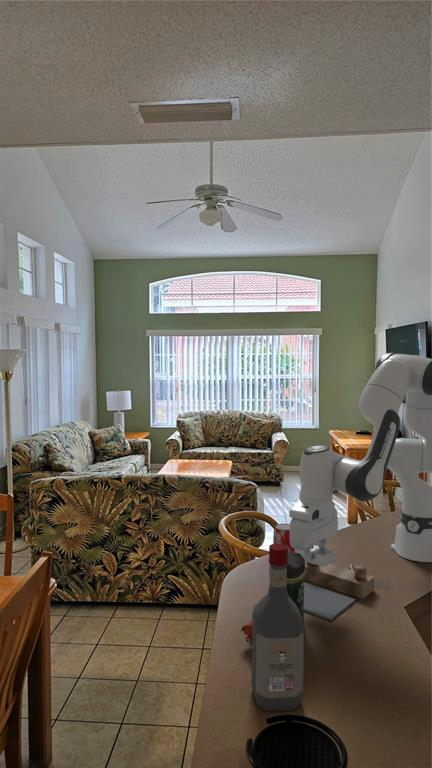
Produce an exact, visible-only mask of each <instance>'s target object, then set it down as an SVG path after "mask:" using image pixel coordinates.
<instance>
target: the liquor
mask: <svg viewBox="0 0 432 768" xmlns="http://www.w3.org/2000/svg"><path fill="white" fill-rule="evenodd" d="M268 564H269V567H270V577H269V587H268V589H267V594H266V595H264V597H262V599H260V600H259V601H258V602H257V603H256V604H255V605H254V607H253V610H252V612H251V613H252V615H251V616H252V618H251V619H252V620H251V621H252V646H251V687H252V693H253V696H254V699H255V704H256V705H257V706H258V707H259V708H261V709H263V710H265V711H267V712H281V711H282V712H284V711H294V710H296V708H297V707H298V706H300V704H301V703H302V701H303V700H304V655H305V654H304V652H305V651H304V649H305V648H304V647H305V644H304V643H305V640H304V639H305V621H304V622H303V619H302V616H301V614H300V612H299V610H298V608H297V606H296V604H295V603H294V602H293V601H292V600H291V598H290V597H289V596H288V593H287V564H288V546H286V545H284V544H273V543H272V544H270V545H269V547H268Z"/></svg>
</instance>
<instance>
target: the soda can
mask: <svg viewBox="0 0 432 768" xmlns="http://www.w3.org/2000/svg"><path fill="white" fill-rule="evenodd" d="M272 536H273V541H272V544H284V545H286V546H288V551H290V552H294V553H296V549H295V548H292V547H291V545H290V523H278V524H276V525H275V528H274V530H273V535H272Z"/></svg>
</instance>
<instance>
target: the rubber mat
mask: <svg viewBox="0 0 432 768" xmlns="http://www.w3.org/2000/svg"><path fill="white" fill-rule="evenodd" d="M356 600H357V599H356V598H353V597H350V596H347V595H346V594H345V595H344V594H341V593H339V592H336V591H332V590H329V589H328V588H324V587H320V586H317V585H314V584H311V583H308V582H307V581H306V582H305V581H304V613H309V614H311V615H313V616H316V617H319V618H321V619H324V620H327V621H330V622H331V621H333V620H334V619H335V618H337V617H339V616H340V614H342V613H343V612H345V610H347V609H348V608H349V607H350V606H351V605H353V604H354V603H355V602H356Z"/></svg>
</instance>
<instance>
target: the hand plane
mask: <svg viewBox="0 0 432 768" xmlns="http://www.w3.org/2000/svg"><path fill="white" fill-rule="evenodd" d="M367 570H368V569H367V567H366V566H364V565H356V566H354V570H353V569H349V568H345V567H342V566H339V565H336V564H333V563H331V564H330V565H328V566H326V567H323V566H319V565H316V564H312V563H309V562H305V578H304V581H306V582H310V583H314V584H316V585H319V586H322V587H325V588H327V589H331V590H334V591H337V592H340V593H343V594H345V595H349V596H352V597H355V598H358V599H361V600H364V599H365V598H366V597H368V596H369V595H370V594H371V593H373V592H374V590H375V576H372V575H369V574H367Z"/></svg>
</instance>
